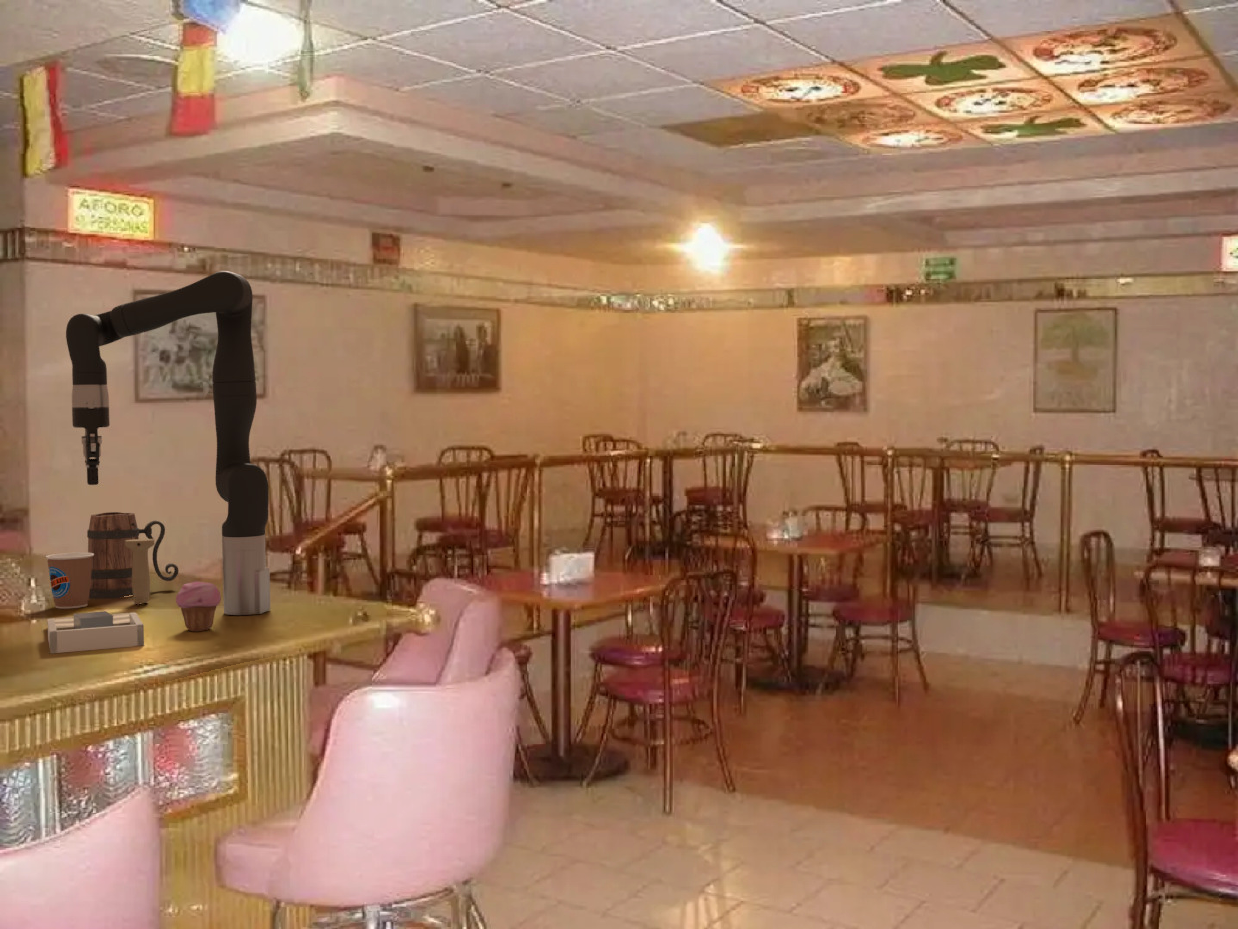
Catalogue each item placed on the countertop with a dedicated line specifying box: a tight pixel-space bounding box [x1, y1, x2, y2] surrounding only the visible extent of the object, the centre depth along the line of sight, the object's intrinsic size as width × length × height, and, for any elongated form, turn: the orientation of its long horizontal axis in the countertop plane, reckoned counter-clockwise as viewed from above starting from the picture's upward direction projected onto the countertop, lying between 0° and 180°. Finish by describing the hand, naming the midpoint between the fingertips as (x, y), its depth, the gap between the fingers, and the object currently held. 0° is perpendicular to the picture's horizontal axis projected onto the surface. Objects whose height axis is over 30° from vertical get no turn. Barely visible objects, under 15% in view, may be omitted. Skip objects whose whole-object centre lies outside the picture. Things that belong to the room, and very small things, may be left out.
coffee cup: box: [45, 552, 94, 610], centre depth 295 cm, size 10×10×12 cm
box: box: [47, 612, 145, 654], centre depth 248 cm, size 17×16×4 cm
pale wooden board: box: [46, 612, 130, 631], centre depth 262 cm, size 14×16×2 cm
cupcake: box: [175, 580, 221, 633], centre depth 261 cm, size 9×9×10 cm
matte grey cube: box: [73, 610, 113, 629], centre depth 252 cm, size 7×6×5 cm
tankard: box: [86, 511, 179, 600], centre depth 316 cm, size 24×17×20 cm
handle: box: [125, 538, 155, 605], centre depth 297 cm, size 5×6×15 cm
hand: (92, 484), depth 280 cm, fingers closed
